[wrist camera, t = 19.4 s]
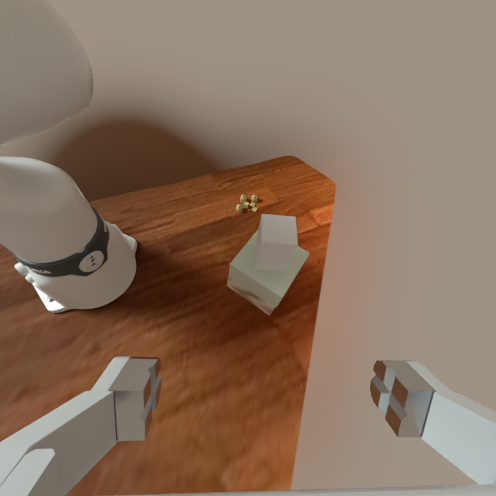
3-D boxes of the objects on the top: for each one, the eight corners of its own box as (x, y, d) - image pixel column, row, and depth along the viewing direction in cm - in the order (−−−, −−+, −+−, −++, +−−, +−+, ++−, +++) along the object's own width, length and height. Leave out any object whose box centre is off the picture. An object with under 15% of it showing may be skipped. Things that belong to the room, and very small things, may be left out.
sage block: (228, 276, 45) (229, 263, 41) (258, 240, 50) (261, 225, 46) (276, 308, 43) (282, 297, 38) (302, 266, 47) (310, 253, 43)
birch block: (227, 286, 49) (227, 275, 45) (255, 252, 54) (257, 239, 50) (269, 316, 47) (274, 307, 43) (294, 277, 52) (301, 266, 47)
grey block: (285, 271, 41) (297, 244, 34) (255, 269, 41) (261, 242, 34) (283, 245, 44) (295, 216, 37) (255, 243, 43) (261, 213, 37)
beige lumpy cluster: (235, 213, 60) (236, 208, 58) (237, 198, 63) (238, 192, 61) (256, 216, 60) (257, 210, 58) (257, 200, 63) (258, 195, 61)
